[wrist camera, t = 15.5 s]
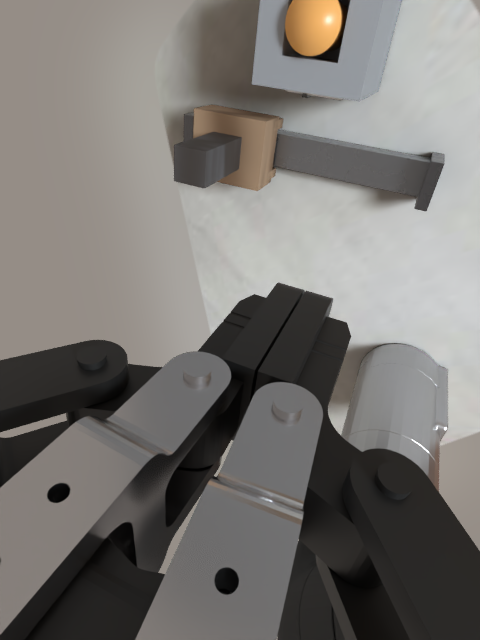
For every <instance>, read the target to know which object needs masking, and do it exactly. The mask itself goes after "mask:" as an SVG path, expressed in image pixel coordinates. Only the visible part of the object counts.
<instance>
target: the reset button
mask: <svg viewBox="0 0 480 640" xmlns="http://www.w3.org/2000/svg"><path fill="white" fill-rule="evenodd" d="M347 15H348V9H347V7H346V6H345V5H344V4H342V3H340V2H339V1H338V0H293V1H292V2H291V4H290V6H289V8H288V11H287V14H286V19H285V31H286V36H287V39H288V41H289V43H290V45H291V46H292V48H293V49H294V50H295V51H296V52H298V53H299V54H302V55H305V56H316V55H320V54H322V53H324V52H326V51H333V50H335V49H337V48H339V47H340V46H341V44H342V39H343V34H344V30H345V25H346V20H347Z"/></svg>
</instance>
